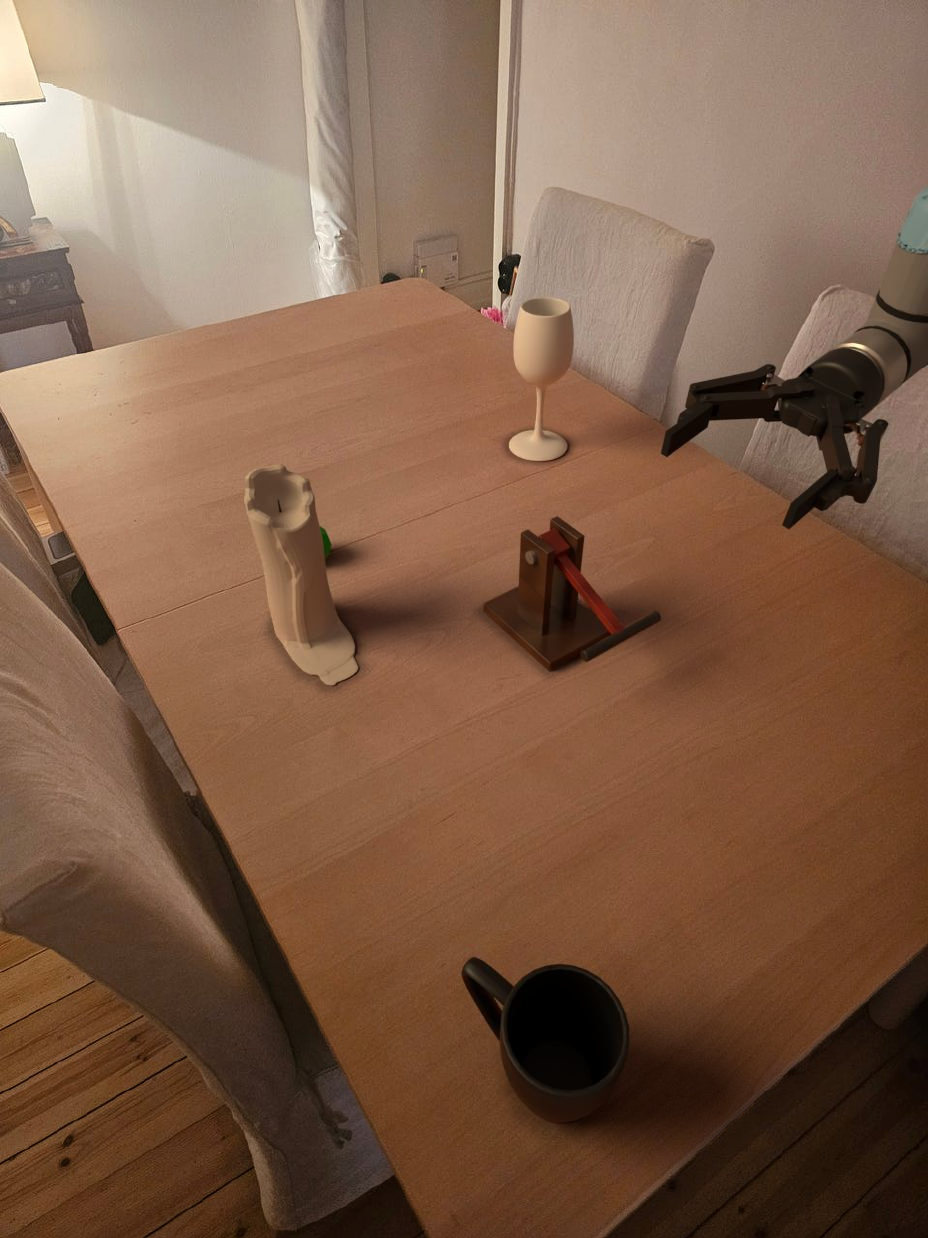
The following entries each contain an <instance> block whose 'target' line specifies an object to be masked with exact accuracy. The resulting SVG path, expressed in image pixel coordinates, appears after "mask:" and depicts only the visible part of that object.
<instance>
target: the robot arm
mask: <svg viewBox="0 0 928 1238" xmlns="http://www.w3.org/2000/svg"><path fill="white" fill-rule="evenodd" d="M891 253H892V254H891V256H890V258H889V261H888V264H887V267H886V270H885V273H884V275H883V278H882V281H881V284H880V287H879V288H878V292H877V293H876V295H875V297H874V300H873V303H872V306H871V308H870V310H869V313H868V315H867V316H868V317H867V319H866V321H865V322H864V323H863V325H862V326H860V327H859V328H858V329H856V330H855V331H854V332H852V333H851V334H849V335H848V336H847V337H845V338H844V339H842V340H841V341H840V342H839V343H837V344H836V345H834V346H833V347H831V348H830V349H829V350H828V351H827V352H825V353H824V354H823V355H821V356H820V357H818V358H817V359H816V360H814V361H813V362H812V363H810V364H809V365H808V366H806V368H805V369H803V370H802V371H801V372H800V373H799V375H798V376H796V377H794V378H793V377H792V378H788V379H783V378H781V377H780V376H778V375H777V374H776V370H777V366H776V365H774V364H771V363H767V364H764V365H762V366H761V367H758V368H757V369H755V370H752V371H746V372H741V373H737V374H736V373H735V374H730V375H727V376H722V377H716V378H712V379H707V380H701V381H697V382H692V383H690V384H689V386H688V392H687V394H686V398H685V399H686V400H685V404H684V408H685V409H684V410H682V411H681V412H680V413H679V414H678V417H677V420H676V423H675V424H674V425H673V426H671V427H670V428H668V429H667V430H665V433H664V436H663V442H662V446H661V451H660V455H662V456H663V457H666V458H668V457H670V456H671V455H672V454H673V453H675V452H677V451H678V450H679V449H680V448H682V447H683V446H684V445H686V444H687V443H689V442H690V441H691V440H693V439H694V438H695V437H696V436H698V435H700V434H701V433H702V432H703V431H705V430H706V429H708V427H709V423H710V422H712V421H713V422H714V421H735V420H756V419H763V421H764V422H766V423H779V422H781V423H782V424H783V425H785V426H787V427H790V428H793V429H796V430H797V431H799V433H801V434H802V435H804V436H806V437H811V436H812V437H815V439H816V443H817V446H818V450H819V451H821V452H822V453H821V454H822V457H823V461H824V465H825V470H826V472H825V473H824V474H822V476H820V477H819V478H818V479H817V480H816V481H815V482H814V483H812V484H811V485H810V486H809V487H808V488H806V489H805V490H804V491H803V492H802V493H800V495H798V496H797V497H796V498H794V499H793V500H792V501H791V502H790V504H789V507H788V510H787V511H786V514H785V516H784V519H783V522H782V524H781V526H782V527H784V528H785V529H787V530H791V529H792V528H793V527H794V526H795V525H796V524H797V523H798V522H799V521H801V520H802V519H803V518H804V517H805V516H806V515H808V514H809V513H810V512H811V511H812V510H813V509H817V510H818V511H820V512H824V511H827V510H828V509H829V508H831V507H832V506H833V505H834V504H835V503H836V502H837V501H839V500H840V499H841V498H844V497H845V496H846V497H851V498H852V500H853V501H854V502H855V503H857V504H860V505H863V504H866V503H867V502H868V500H869V498H870V496H871V494H872V492H873V490H874V488H875V487H876V484H877V482H878V474H879V460H880V449H881V441H882V440H883V437H884V435H885V434H886V431H887V429H888V426H889V422H888V421H887V420H886V419H883V418H878V419H875V420H874V422H870V421H869V420H865V419H863V418H865V417H866V416H867V415H869V413H871V412H872V411H873V410H874V409H876V407H878V406H879V405H880V404H882V402H884V401H885V400H886V399H887V398H888V397H890V395H892V394H893V393H894V392H895V391H896V390H898V389H900V387H902V386H903V384H905V383H906V382H907V381H908V380H910V379H911V378H912V377H913V376H915V375H916V374H917V373H919V371H921V370H922V369H925V368H926V367H927V366H928V186H926V187H924V188H923V189H922V190H921V191H919V192H918V194H917V195H916V197H915V199H914V200H913V203H912V205H911V207H910V208H909V210H908V213H907V214H906V217H905V218H904V222H903V224H902V226H901V227H900V229H899V232H898V234H897V236H896V242H895V244H894V248H893V250H892V252H891ZM776 407H778V409H776ZM853 432H854V433H855V434H856V440H857V444H856V445H857V446H858V447H860V448H859V450H858V453H857V458H856V467H855V466H854V465H853V463H852V458H851V454H850V451H849V447H848V443H847V439H846V436H845V435H847V434H851V433H853Z"/></svg>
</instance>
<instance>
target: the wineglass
mask: <svg viewBox="0 0 928 1238" xmlns="http://www.w3.org/2000/svg"><path fill="white" fill-rule="evenodd" d="M574 342H575V331H574V320H573V313H572V307H571V305H570V304H569V302H567V301H565V300H563V299H560V298H557V297H549V296H539V297H533V298H529V299H527V300H525V301H523V302H522V303H521V305H520V306H519V310H518V314H517V318H516V323H515V327H514V334H513V346H512V347H513V361H514V365H515V368H516V370H517V372H518V374H519V375H520V376H521V377H522V378H523V379H524V380H525V381H526V382H528V383H529V384H530V385H532V386H534V387H535V389H536V417H535V423H534V424H535V425H534V429H530V430H524V431H521V432H519V433H517V434H515V435H514V436H512V438H511V439H510V440H509V442H508V448H509V450H510V452H511V453H512V454H513V455H514V456H516V457H519V458H520V459H523V460H526V461H531V462H547V461H552V460H553V461H554V460H555V459H558V458H560V457H561V456H563V455H564V454H565V453H566V451H568V443H567V441H566V440H565V438H564V437H563V436H561V435H560V434H558V433H555V432H553V431H550V430H546V429H545V430H544V406H545V405H544V402H545V396H546V390H547V388H548V387H549V386H551V385H553V384H555V383H557V382H558V381H560V380H561V379H562V378H563V377H564V376H565V375H566V373H567V372H568V371H569V368H570V366H571V364H572V360H573V353H574V345H575V343H574Z"/></svg>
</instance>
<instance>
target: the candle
mask: <svg viewBox="0 0 928 1238" xmlns="http://www.w3.org/2000/svg"><path fill="white" fill-rule="evenodd" d="M243 503H244V506H245V510H246V514H247V517H248V520H249V521H248V522H249V525H250V528H251V531H252V534H253V537H254V540H255V543H256V546H257V549H258V553H259V556H260V561H261V565H262V569H263V574H264V581H265V589H266V596H267V602H268V603H267V604H268V608H269V612H270V617H271V621H272V625H273V629H274V634H275V636H276V638H277V639H278V640H279V641H280V642H281V644H282V646H283V648H284V649H285V650H286V652H287V654H288V655H289V657H290V659H291V660H292V661H293V662H294V663H295V665H297V666H298V668H299V669H301V671H303V673H306V674H308V675H311V676H318V677H319V679H320V680H321V682H322V683H324V684H325V685H328V686H336V684H337V683H339V682H342V681H344V680H346V679H348V678H350V677H352V676H353V675H354V674H355V673H357V672H358V670H359V666H358V663H357V661H356V659H355V653H356V644H355V642H354V638H353V636H352V634H351V633H350V631H349V630H348V629H347V627H346V626H345V625H344V623H343V622H342V620H341V619H340V617H339V616H338V612H337V610H336V606H335V604H334V599H333V595H332V593H331V590H330V584H329V579H328V573H327V565H326V558H325V556H324V547H323V539H322V534H321V530H320V526H321V525H320V522H319V518H318V514H317V506H316V497H315V494H314V491H313V489H312V485H311V482H310V479H309V478H308V477H307V476H305V475H304V474H300V473H297V472H293V471H289V469H287V467H286V466H285V465H284V464H281V463H280V464H273V465H267V466H263V467H259V468H255V469H252V470H250V471H249V472H248V473H247V474H246V475H245V480H244V497H243Z"/></svg>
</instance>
